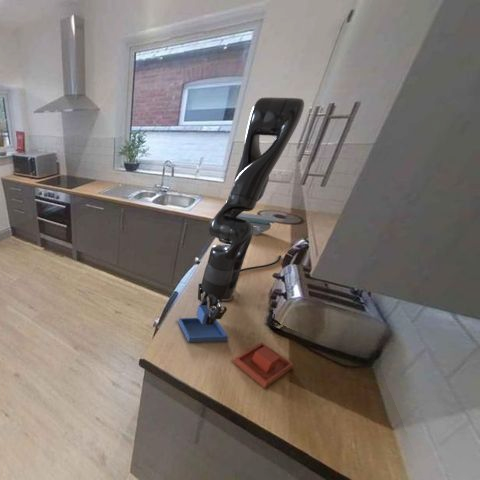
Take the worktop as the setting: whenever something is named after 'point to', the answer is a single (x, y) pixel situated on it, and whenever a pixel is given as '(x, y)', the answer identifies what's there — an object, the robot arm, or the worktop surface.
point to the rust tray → (256, 372)
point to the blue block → (203, 313)
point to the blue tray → (202, 331)
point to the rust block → (265, 359)
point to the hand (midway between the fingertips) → (205, 318)
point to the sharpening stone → (257, 222)
